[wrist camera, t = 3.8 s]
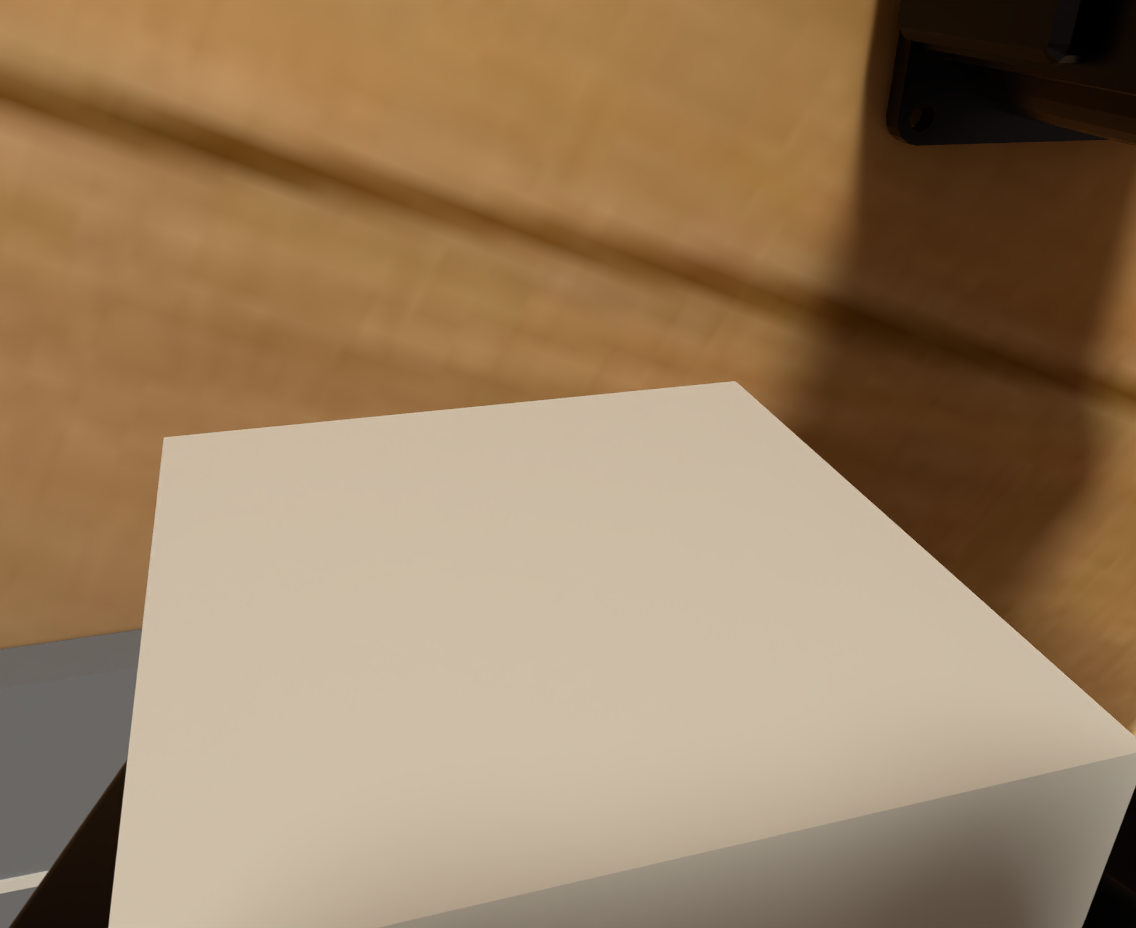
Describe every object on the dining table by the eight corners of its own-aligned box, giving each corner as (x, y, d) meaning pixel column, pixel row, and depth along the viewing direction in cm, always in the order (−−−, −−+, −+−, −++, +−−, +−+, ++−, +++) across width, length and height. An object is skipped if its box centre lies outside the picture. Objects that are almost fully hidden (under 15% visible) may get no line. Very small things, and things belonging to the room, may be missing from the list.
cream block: (735, 381, 9) (1148, 749, 5) (691, 781, 12) (956, 1260, 8) (164, 437, 8) (99, 992, 4) (241, 875, 10) (253, 1523, 6)
